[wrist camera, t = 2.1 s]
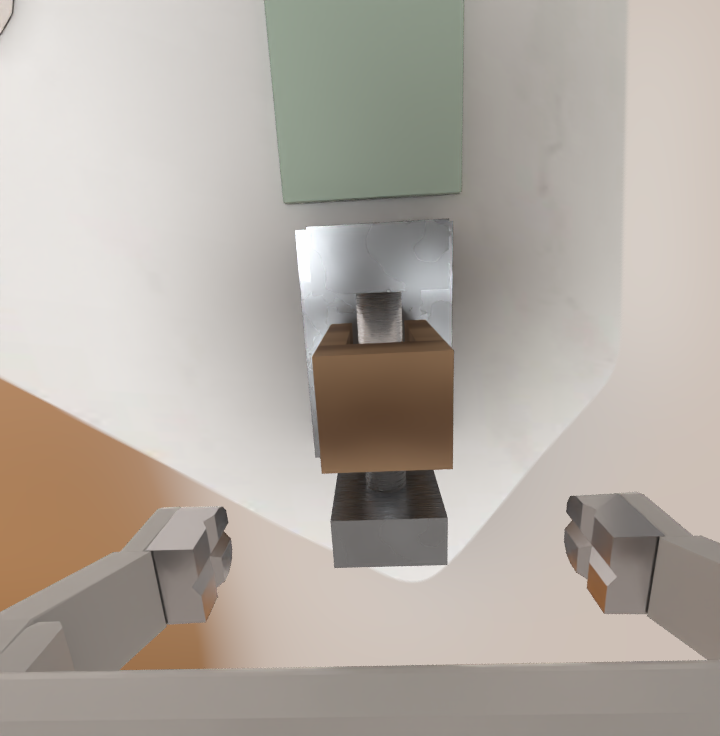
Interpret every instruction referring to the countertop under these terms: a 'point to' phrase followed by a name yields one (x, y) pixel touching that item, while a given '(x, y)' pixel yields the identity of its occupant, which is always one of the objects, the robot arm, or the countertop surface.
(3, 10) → the white cup
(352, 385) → the wooden block
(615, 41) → the countertop surface
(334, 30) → the mat
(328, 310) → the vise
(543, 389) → the countertop surface
